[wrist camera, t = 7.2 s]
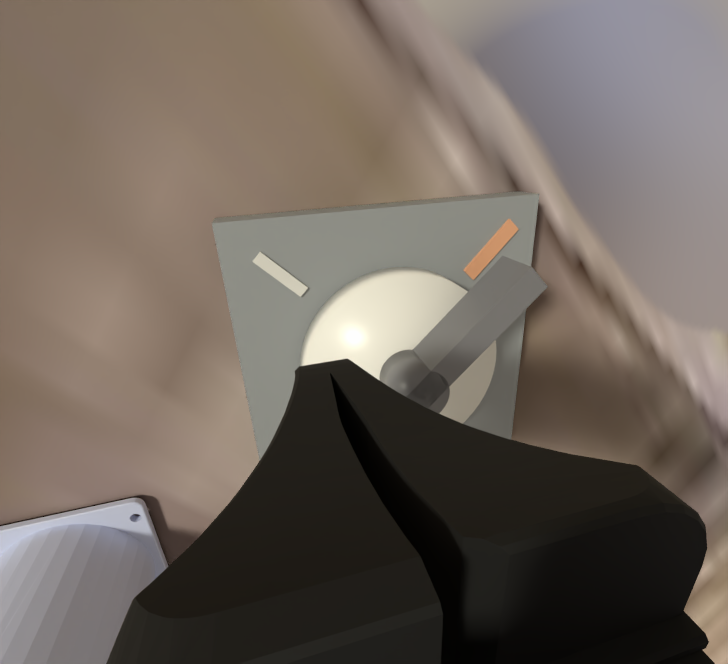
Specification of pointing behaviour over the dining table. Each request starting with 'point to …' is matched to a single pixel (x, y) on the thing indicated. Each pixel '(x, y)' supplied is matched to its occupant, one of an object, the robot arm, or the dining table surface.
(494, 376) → the dial plate
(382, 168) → the dining table surface
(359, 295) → the dial
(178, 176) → the dining table surface
